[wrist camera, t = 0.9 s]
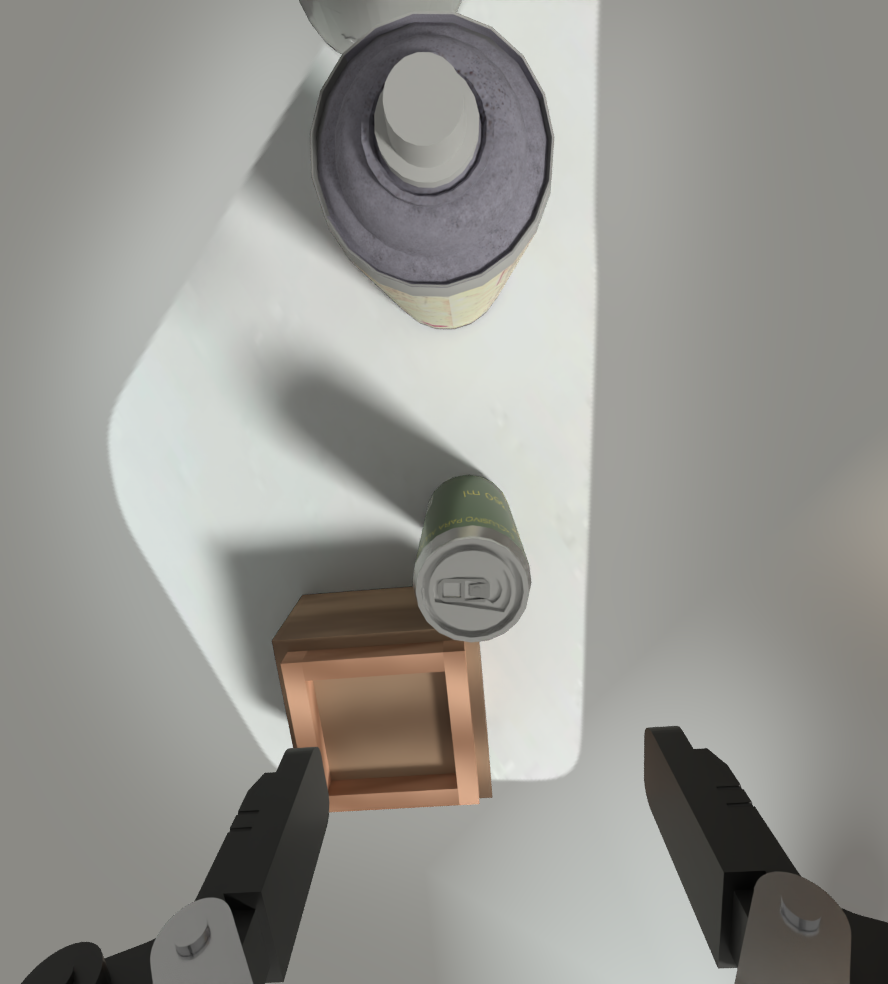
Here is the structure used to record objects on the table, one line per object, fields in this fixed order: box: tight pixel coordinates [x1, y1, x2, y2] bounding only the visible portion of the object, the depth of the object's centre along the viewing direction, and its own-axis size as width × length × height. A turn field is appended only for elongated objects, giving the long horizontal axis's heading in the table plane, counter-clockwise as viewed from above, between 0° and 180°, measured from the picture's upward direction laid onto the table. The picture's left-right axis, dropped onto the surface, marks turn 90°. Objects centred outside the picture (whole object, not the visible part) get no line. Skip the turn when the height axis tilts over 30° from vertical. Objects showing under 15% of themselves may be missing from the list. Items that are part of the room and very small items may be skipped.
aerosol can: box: [310, 11, 554, 329], centre depth 20 cm, size 7×7×20 cm
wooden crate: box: [272, 587, 492, 812], centre depth 33 cm, size 12×12×7 cm
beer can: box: [412, 475, 531, 642], centre depth 28 cm, size 5×5×12 cm
